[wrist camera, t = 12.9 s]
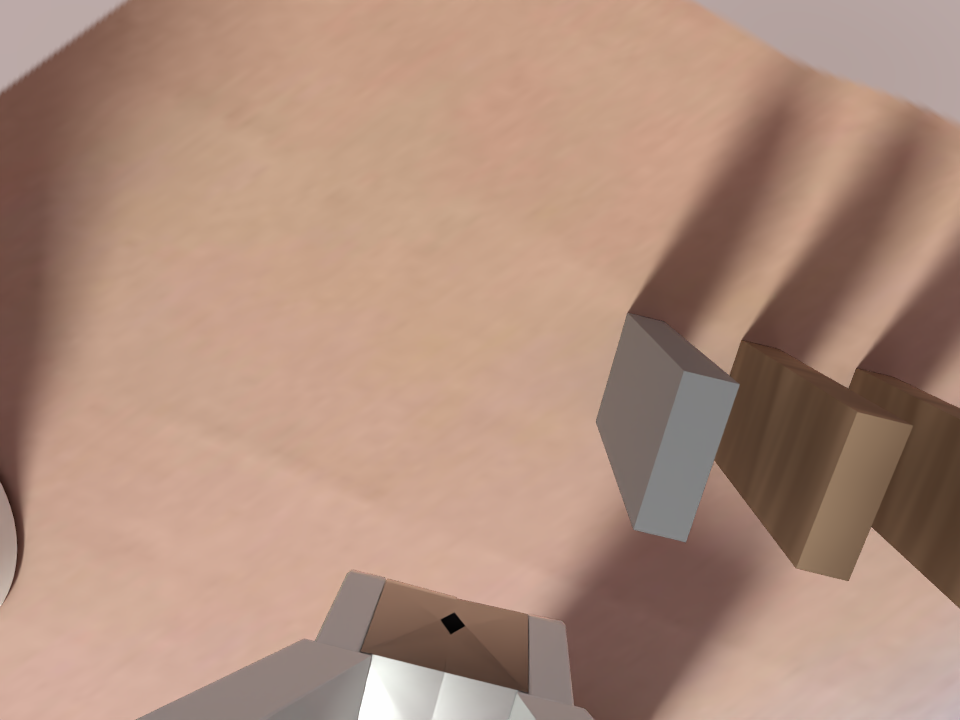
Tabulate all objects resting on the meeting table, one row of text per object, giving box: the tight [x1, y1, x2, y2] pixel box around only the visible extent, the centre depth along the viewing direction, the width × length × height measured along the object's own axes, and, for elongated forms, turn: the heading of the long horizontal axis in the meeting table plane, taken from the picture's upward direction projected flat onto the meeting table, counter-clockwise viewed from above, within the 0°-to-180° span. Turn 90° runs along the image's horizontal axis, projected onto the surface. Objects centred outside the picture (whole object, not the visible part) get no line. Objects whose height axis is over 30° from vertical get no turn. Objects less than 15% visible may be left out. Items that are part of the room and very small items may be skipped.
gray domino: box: [596, 313, 740, 542], centre depth 24 cm, size 2×5×10 cm, turn 167°
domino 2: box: [849, 368, 960, 608], centre depth 24 cm, size 2×5×10 cm, turn 167°
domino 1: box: [714, 340, 913, 581], centre depth 24 cm, size 2×5×10 cm, turn 167°
